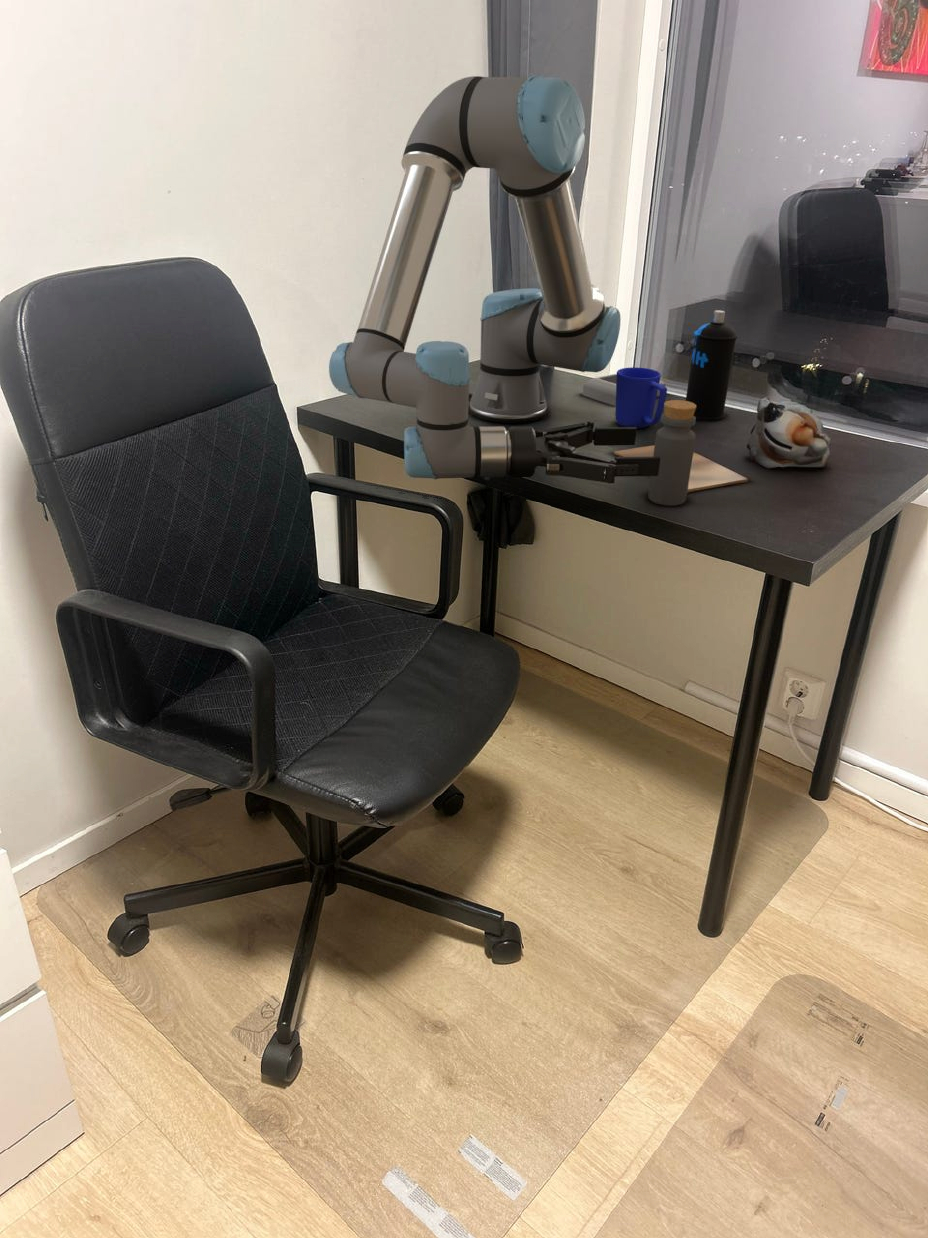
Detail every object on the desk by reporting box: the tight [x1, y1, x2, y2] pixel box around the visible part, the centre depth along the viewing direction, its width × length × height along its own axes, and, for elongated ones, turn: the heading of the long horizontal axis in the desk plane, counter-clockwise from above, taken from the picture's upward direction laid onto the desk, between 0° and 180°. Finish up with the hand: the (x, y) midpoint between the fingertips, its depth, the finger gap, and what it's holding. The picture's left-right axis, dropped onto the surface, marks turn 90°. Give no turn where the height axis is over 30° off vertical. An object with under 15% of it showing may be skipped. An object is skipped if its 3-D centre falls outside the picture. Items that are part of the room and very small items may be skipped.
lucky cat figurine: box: [746, 397, 832, 469], centre depth 149 cm, size 15×12×14 cm
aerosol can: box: [685, 309, 739, 422], centre depth 172 cm, size 8×8×20 cm
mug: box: [615, 366, 668, 429], centre depth 166 cm, size 8×12×10 cm
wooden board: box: [613, 444, 749, 493], centre depth 150 cm, size 20×13×1 cm, turn 25°
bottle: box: [647, 399, 697, 507], centre depth 134 cm, size 6×6×15 cm
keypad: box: [582, 373, 667, 407], centre depth 187 cm, size 10×4×15 cm
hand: (646, 450), depth 133 cm, fingers open, 13 cm apart
